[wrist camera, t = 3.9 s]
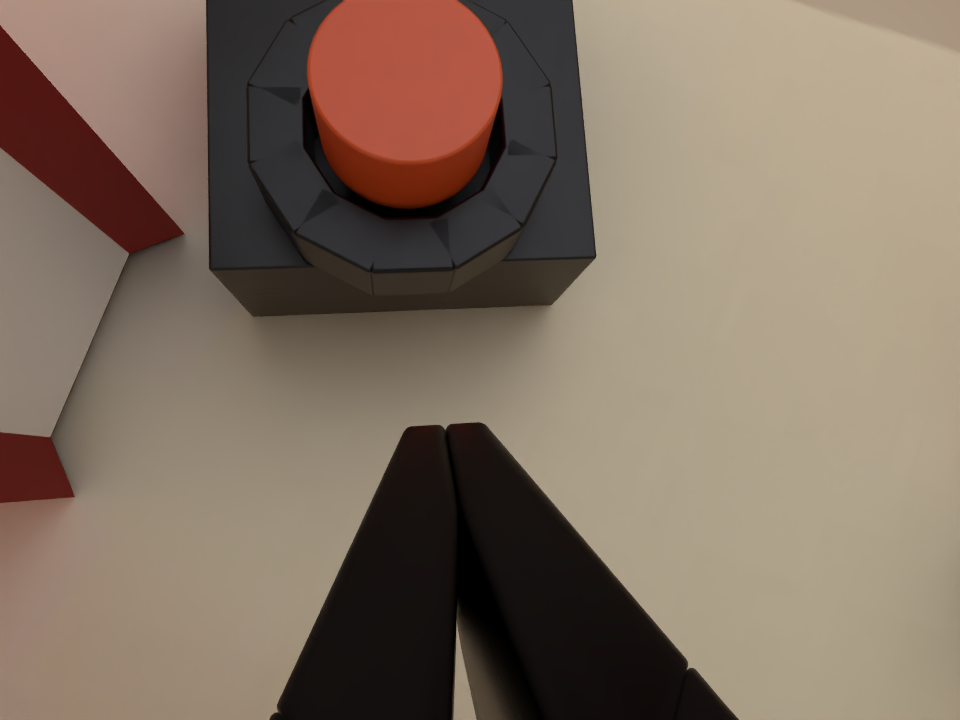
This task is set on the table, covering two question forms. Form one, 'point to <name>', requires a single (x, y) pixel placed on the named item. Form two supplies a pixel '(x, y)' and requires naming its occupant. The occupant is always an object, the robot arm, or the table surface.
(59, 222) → the book
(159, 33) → the table surface
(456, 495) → the robot arm
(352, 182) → the button
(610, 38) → the table surface
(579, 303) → the table surface
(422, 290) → the button base
